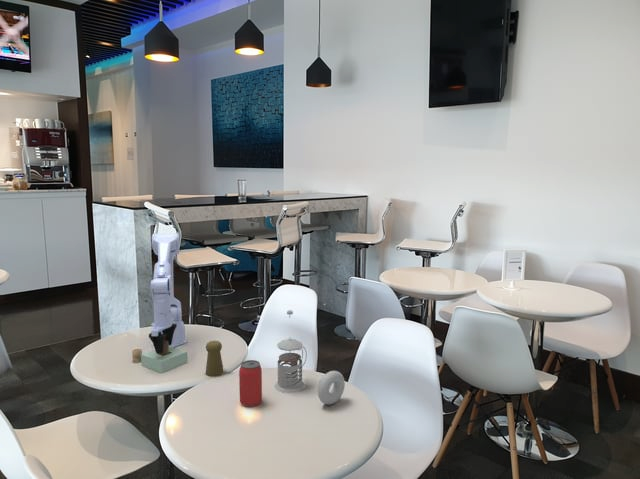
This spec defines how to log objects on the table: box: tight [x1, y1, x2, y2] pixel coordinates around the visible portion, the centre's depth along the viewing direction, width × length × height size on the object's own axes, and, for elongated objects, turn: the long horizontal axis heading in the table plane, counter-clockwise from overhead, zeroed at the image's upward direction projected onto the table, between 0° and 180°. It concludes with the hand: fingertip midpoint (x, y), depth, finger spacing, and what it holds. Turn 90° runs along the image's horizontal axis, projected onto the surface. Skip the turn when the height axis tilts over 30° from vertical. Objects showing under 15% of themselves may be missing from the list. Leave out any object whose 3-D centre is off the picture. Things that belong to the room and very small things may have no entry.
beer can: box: [238, 359, 263, 408], centre depth 138 cm, size 7×7×12 cm
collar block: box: [140, 346, 188, 374], centre depth 165 cm, size 11×11×4 cm
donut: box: [317, 370, 346, 406], centre depth 137 cm, size 10×3×10 cm, turn 134°
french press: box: [274, 309, 308, 394], centre depth 148 cm, size 10×12×25 cm
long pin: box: [159, 341, 169, 356], centre depth 165 cm, size 3×3×8 cm
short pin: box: [131, 348, 143, 364], centre depth 168 cm, size 3×3×4 cm
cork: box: [205, 340, 224, 378], centre depth 158 cm, size 6×6×11 cm
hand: (164, 348), depth 165 cm, fingers open, 7 cm apart
